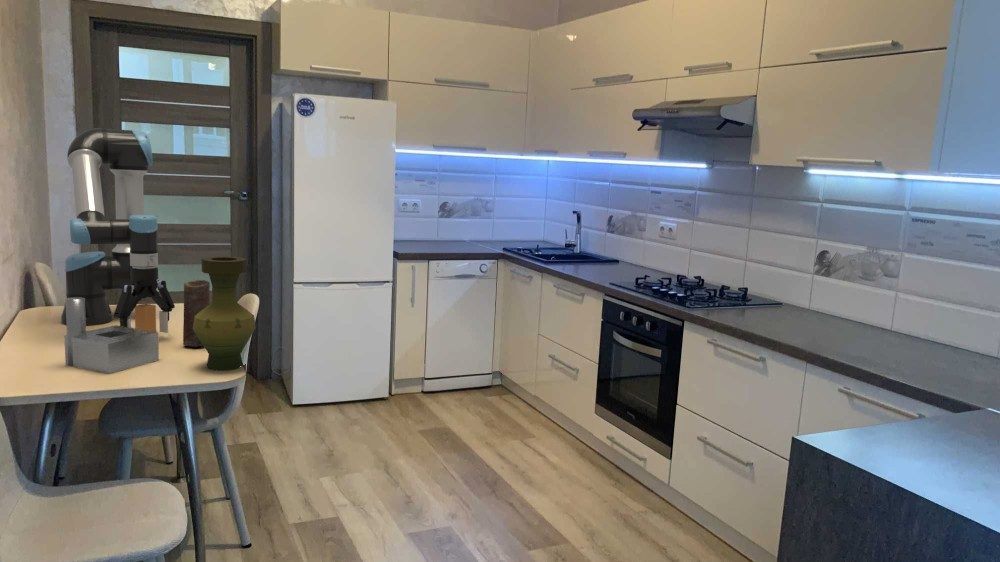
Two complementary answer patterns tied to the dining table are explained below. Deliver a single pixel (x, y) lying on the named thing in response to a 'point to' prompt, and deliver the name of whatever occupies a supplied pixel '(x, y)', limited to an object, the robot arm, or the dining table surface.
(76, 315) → the grey block with cylinder
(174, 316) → the dining table surface
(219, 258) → the vase
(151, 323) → the orange rectangular block
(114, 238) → the robot arm
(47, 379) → the dining table surface
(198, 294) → the candle
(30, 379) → the dining table surface
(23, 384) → the dining table surface
